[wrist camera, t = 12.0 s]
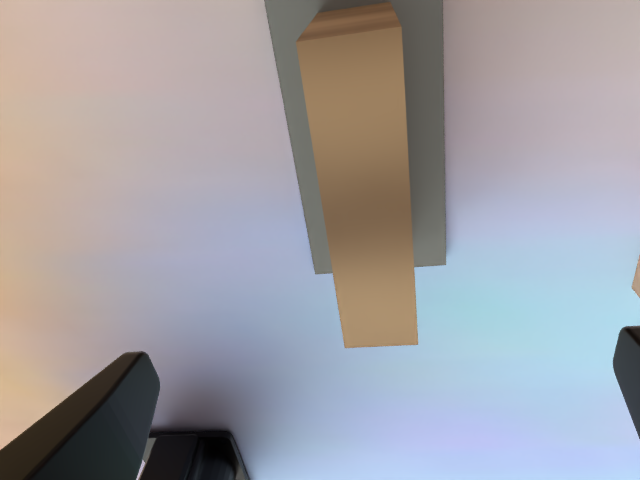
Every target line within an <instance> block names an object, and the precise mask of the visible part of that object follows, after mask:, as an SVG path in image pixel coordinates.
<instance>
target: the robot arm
mask: <svg viewBox="0 0 640 480" xmlns="http://www.w3.org/2000/svg"><path fill="white" fill-rule="evenodd" d="M613 368H614V372H615V375H616V378H617V381H618V383H619V386H620V389H621V391H622V394H623V397H624V399H625V402H626V405H627V407H628V410H629V412H630V415H631V418H632V420H633V423H634V426H635V428H636V431H637V434H638V436H639V439H640V326H626V327H623V328H622V329H621V330H620V333H619V336H618V341H617V345H616V349H615V353H614V358H613ZM159 391H160V381H159V377H158V375H157V373H156V371H155V369H154V366H153V364H152V362H151V360H150V358H149V356H148V354H147V353H145V352H142V351H140V352H127V353H124V354H123V355H121V356H120V357H119V358H117V359H116V360H115V361H114V362H112V363H111V364H110V365H108V366H107V367H106V368H105V369H103V370H102V371H101V372H100V373H98V374H97V375H96V376H94V377H93V378H92V379H91V380H89V381H88V382H87V383H85V384H84V385H83V386H82V387H80V388H79V389H78V390H77V391H75V392H74V393H73V394H71V395H70V396H69V397H68V398H66V399H65V400H64V401H62V402H61V403H60V404H59V405H57V406H56V407H55V408H54V409H52V410H51V411H50V412H48V413H47V414H46V415H45V416H43V417H42V418H41V419H40V420H38V421H37V422H36V423H34V424H33V425H32V426H31V427H29V428H28V429H27V430H25V431H24V432H23V433H22V434H20V435H19V436H18V437H17V438H15V439H14V440H13V441H11V442H10V443H9V444H8V445H6V446H5V447H4V448H2V449H1V450H0V480H136V478H137V475H138V472H139V469H140V466H141V463H142V460H144V462H145V465H144V468H143V470H142V472H141V475H140V477H139V479H138V480H249V478H248V476H247V473H246V471H245V468H244V465H243V463H242V460H241V457H240V455H239V452H238V449H237V447H236V444H235V441H234V439H233V436H232V435H231V434H230V433H229V432H226V431H203V432H161V433H149V432H150V428H151V424H152V420H153V416H154V412H155V408H156V404H157V400H158V395H159Z"/></svg>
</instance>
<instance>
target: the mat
mask: <svg viewBox="0 0 640 480" xmlns="http://www.w3.org/2000/svg"><path fill="white" fill-rule="evenodd" d="M264 1H265V7H266V12H267V17H268V23H269V28H270V34H271V39H272V44H273V50H274V55H275V60H276V66H277V71H278V76H279V82H280V87H281V93H282V98H283V103H284V109H285V114H286V119H287V125H288V130H289V135H290V141H291V146H292V152H293V157H294V162H295V168H296V173H297V178H298V184H299V189H300V194H301V200H302V205H303V211H304V216H305V221H306V227H307V232H308V237H309V243H310V248H311V253H312V259H313V264H314V270H315V274H327V273H333V271H332V265H331V258H330V252H329V246H328V240H327V233H326V227H325V221H324V215H323V209H322V202H321V196H320V190H319V184H318V177H317V171H316V165H315V159H314V152H313V146H312V140H311V134H310V127H309V121H308V115H307V109H306V102H305V96H304V90H303V84H302V77H301V71H300V65H299V59H298V52H297V46H296V41H297V40H298V38H299V37H300V36H301V34H302V33H303V32H304V30H305V29H306V28H307V26H308V25H309V24H310V22H311V21H312V20H313V18H314V17H315V16H316V14H317V13H320V12H326V11H333V10H340V9H346V8H353V7H359V6H366V5H372V4H379V3H386V2H391V5H392V7H393V9H394V11H395V13H396V16H397V18H398V20H399V22H400V24H401V27H402V45H403V64H404V83H405V103H406V122H407V141H408V160H409V180H410V199H411V218H412V237H413V256H414V267H423V266H437V265H446V231H445V153H444V76H443V0H264Z"/></svg>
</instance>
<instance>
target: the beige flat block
mask: <svg viewBox="0 0 640 480" xmlns="http://www.w3.org/2000/svg"><path fill="white" fill-rule="evenodd" d="M632 289H633V290H634V291H635V293H636V294H637V295H638V296H639V298H640V256H639V260H638V264H637V268H636V272H635V276H634V280H633V284H632Z"/></svg>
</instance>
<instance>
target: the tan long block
mask: <svg viewBox="0 0 640 480" xmlns="http://www.w3.org/2000/svg"><path fill="white" fill-rule="evenodd" d="M296 46H297V52H298V59H299V65H300V71H301V77H302V84H303V90H304V96H305V102H306V109H307V115H308V121H309V127H310V134H311V140H312V146H313V152H314V159H315V165H316V171H317V177H318V184H319V190H320V196H321V202H322V209H323V215H324V221H325V227H326V233H327V240H328V246H329V252H330V258H331V265H332V271H333V277H334V283H335V290H336V296H337V302H338V308H339V315H340V321H341V327H342V333H343V340H344V346H345V348H355V347H377V346H398V345H418V333H417V314H416V295H415V276H414V256H413V237H412V218H411V199H410V180H409V160H408V141H407V122H406V103H405V83H404V64H403V45H402V27H401V24H400V22H399V20H398V18H397V16H396V13H395V11H394V9H393V7H392V5H391V2H386V3H379V4H372V5H366V6H359V7H353V8H346V9H340V10H333V11H326V12H320V13H317V14H316V16H315V17H314V18H313V20H312V21H311V22H310V24H309V25H308V26H307V28H306V29H305V30H304V32H303V33H302V34H301V36H300V37H299V38H298V40H297V41H296Z"/></svg>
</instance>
